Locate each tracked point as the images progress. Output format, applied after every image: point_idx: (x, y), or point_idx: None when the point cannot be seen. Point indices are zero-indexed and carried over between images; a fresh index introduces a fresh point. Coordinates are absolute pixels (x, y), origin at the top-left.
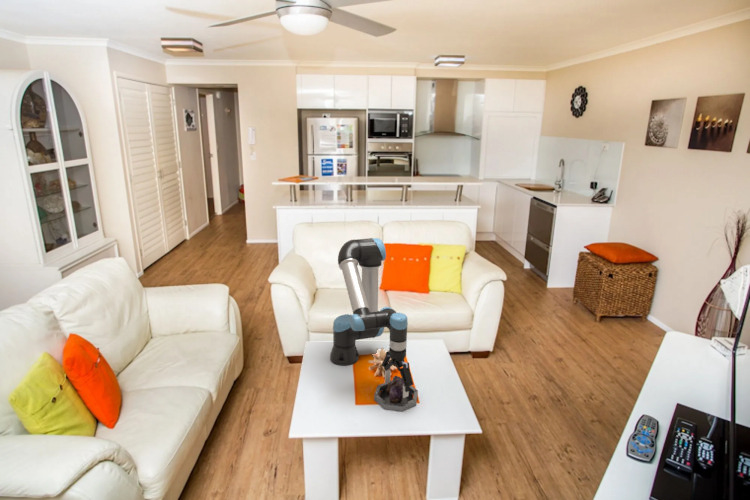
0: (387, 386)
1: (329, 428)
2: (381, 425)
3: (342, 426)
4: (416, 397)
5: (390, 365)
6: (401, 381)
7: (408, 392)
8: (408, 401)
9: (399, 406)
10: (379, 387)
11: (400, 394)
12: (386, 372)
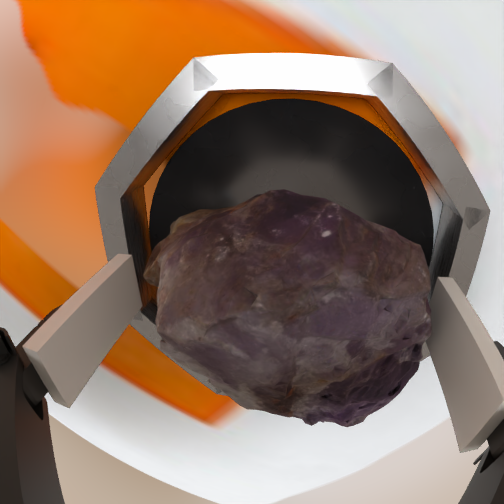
0: (139, 234)
1: (281, 494)
2: (407, 428)
3: (299, 483)
4: (467, 170)
5: (52, 501)
6: (325, 336)
7: (469, 306)
8: (452, 272)
9: (428, 353)
10: (147, 321)
11: (413, 368)
12: (77, 387)
